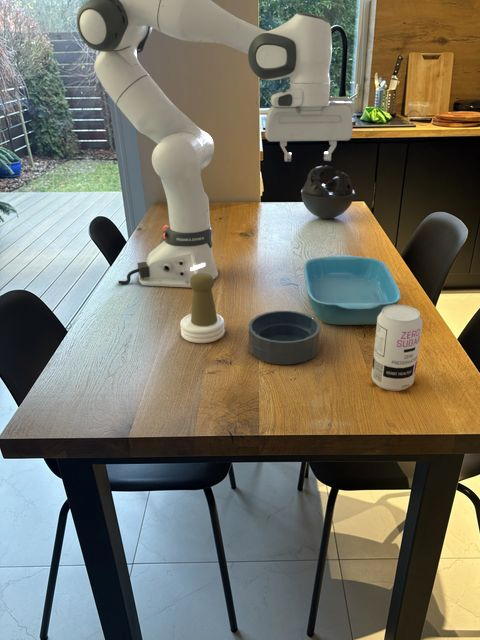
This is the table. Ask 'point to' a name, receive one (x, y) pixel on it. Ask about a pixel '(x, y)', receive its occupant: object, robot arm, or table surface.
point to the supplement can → (396, 347)
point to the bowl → (284, 337)
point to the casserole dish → (349, 289)
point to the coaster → (201, 330)
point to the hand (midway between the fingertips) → (307, 160)
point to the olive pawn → (202, 300)
